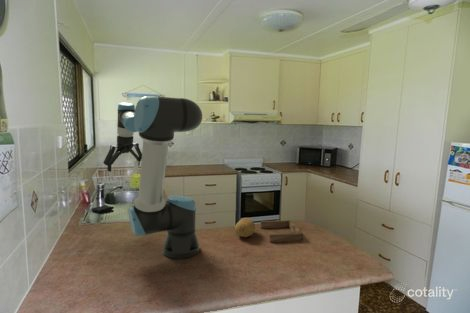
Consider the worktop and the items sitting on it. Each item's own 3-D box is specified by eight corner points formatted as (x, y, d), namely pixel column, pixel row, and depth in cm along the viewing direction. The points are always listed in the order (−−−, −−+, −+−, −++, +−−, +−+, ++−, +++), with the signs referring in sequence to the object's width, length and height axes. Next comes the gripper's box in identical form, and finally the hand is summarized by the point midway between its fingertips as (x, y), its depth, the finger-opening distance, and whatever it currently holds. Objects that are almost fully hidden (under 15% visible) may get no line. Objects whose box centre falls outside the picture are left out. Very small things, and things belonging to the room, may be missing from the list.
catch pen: (302, 240, 133) (303, 233, 133) (269, 242, 130) (270, 235, 130) (289, 226, 151) (289, 220, 150) (260, 227, 148) (260, 221, 148)
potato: (256, 230, 144) (256, 215, 143) (253, 242, 130) (253, 225, 129) (237, 229, 145) (237, 214, 144) (232, 240, 132) (232, 223, 131)
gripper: (143, 130, 150) (141, 167, 157) (95, 135, 131) (95, 176, 138) (151, 134, 145) (149, 172, 152) (103, 140, 127) (103, 182, 134)
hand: (123, 174), depth 145 cm, fingers open, 13 cm apart
